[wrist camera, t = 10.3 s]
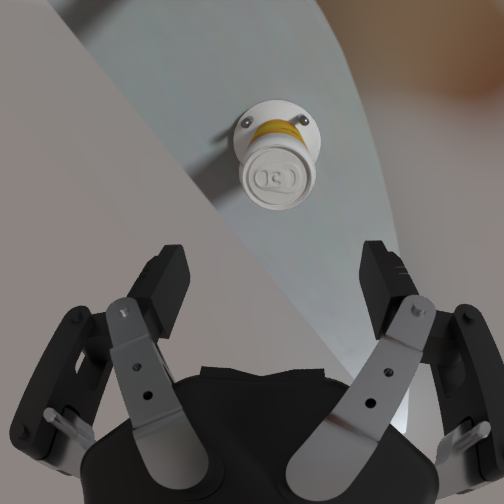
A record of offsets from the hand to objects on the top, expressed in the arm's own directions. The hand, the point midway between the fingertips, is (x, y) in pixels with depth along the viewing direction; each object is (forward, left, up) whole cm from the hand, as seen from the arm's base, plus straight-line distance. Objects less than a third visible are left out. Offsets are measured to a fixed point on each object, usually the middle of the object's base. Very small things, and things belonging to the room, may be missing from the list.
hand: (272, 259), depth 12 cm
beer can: (0, 0, -25) cm, 25 cm away
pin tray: (0, 0, -26) cm, 26 cm away
